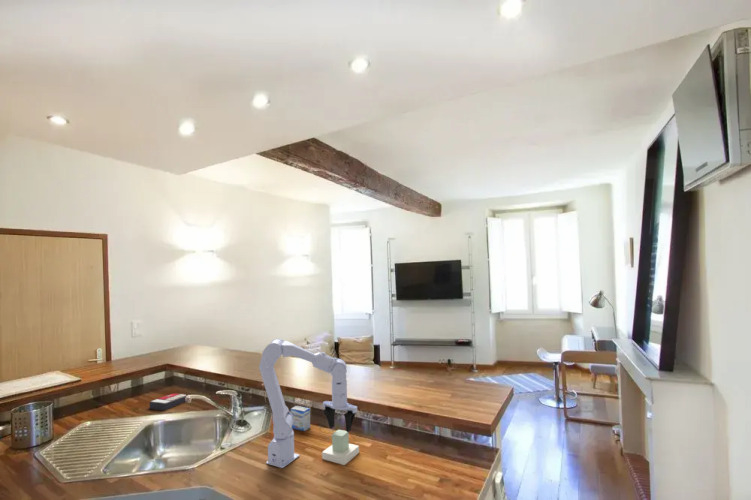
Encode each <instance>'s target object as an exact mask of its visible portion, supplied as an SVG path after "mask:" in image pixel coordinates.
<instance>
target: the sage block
mask: <svg viewBox="0 0 751 500" xmlns="http://www.w3.org/2000/svg"><path fill="white" fill-rule="evenodd" d="M349 435H350V434H349V432H347V431H346V430H344V429H343V430H342V429H337V430H336V431H334V432H333V433H332V434H331V443H332V444H331V445H332V451H336V452H340V453H343V452H344V451H345V450H347V449H348V448H349V444H350V442H349V441H350V440H349V438H350V437H349Z"/></svg>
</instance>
